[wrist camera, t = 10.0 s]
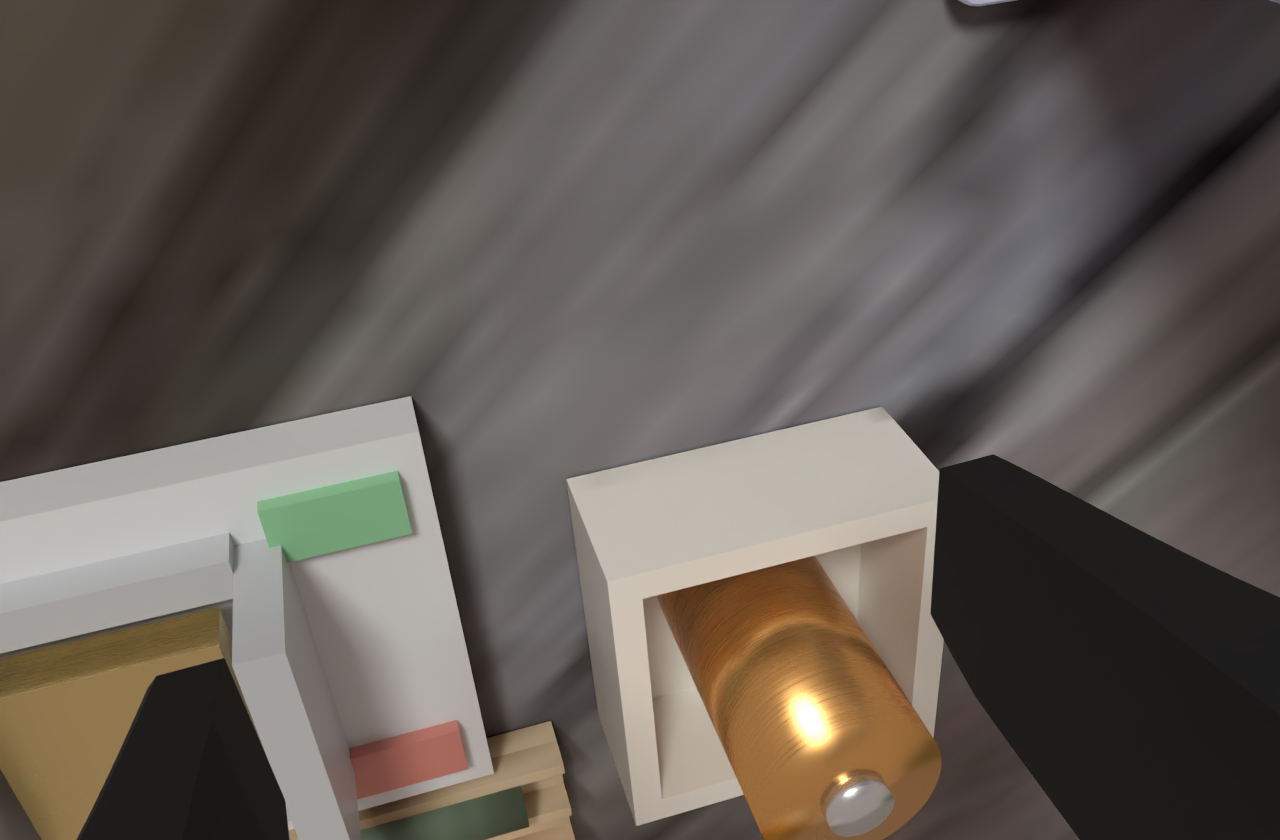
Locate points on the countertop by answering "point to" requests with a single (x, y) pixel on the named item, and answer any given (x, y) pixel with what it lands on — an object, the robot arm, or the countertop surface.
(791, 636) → the cell
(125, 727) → the pad
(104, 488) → the white compartment tray
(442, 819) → the trough
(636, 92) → the countertop surface
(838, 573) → the white square open box
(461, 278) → the countertop surface
